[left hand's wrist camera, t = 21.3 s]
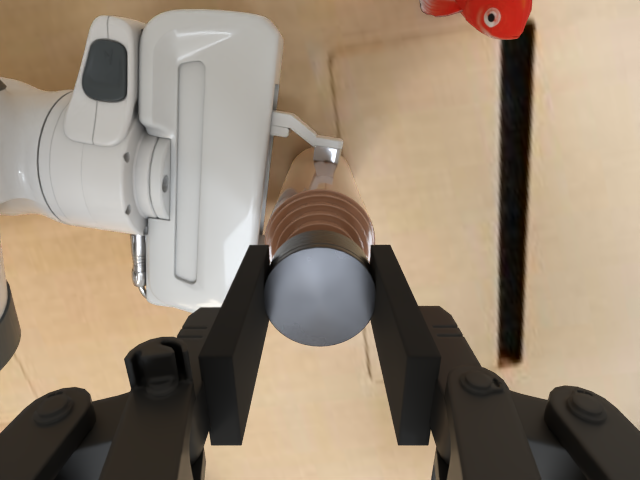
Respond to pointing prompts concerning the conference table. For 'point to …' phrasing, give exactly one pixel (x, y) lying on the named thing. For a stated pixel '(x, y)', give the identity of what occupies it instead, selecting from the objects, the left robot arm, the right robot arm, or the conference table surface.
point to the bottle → (319, 204)
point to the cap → (319, 289)
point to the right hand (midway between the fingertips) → (332, 199)
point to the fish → (485, 14)
